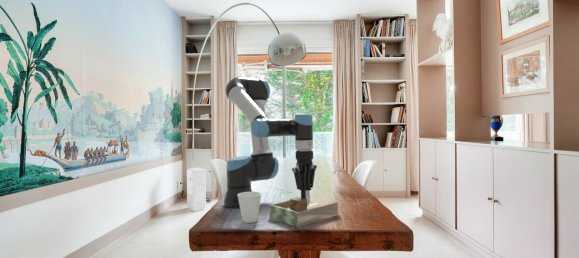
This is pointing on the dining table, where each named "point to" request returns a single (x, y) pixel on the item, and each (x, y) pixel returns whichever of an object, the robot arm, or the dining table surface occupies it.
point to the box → (302, 213)
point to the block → (298, 204)
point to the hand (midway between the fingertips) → (305, 205)
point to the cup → (249, 206)
